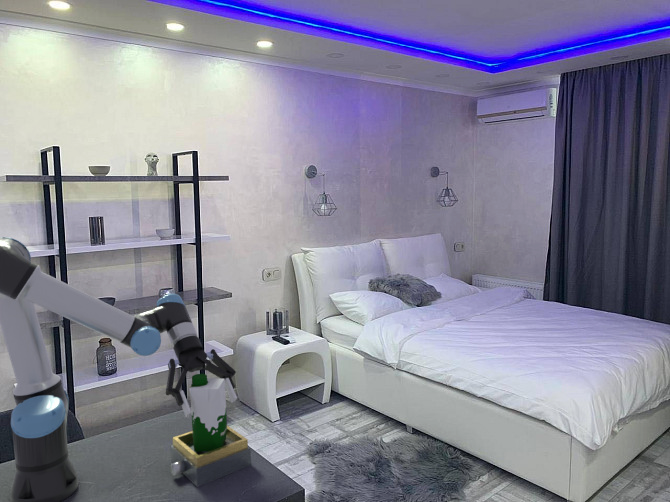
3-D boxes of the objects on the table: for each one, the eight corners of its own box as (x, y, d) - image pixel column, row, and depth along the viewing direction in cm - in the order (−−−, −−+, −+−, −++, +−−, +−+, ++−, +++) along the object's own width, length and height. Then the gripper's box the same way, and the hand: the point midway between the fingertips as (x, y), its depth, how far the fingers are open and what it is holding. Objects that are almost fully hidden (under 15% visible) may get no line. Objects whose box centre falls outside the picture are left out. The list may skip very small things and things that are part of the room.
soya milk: (198, 437, 149) (195, 370, 147) (230, 437, 149) (227, 370, 146) (189, 453, 140) (185, 382, 138) (223, 453, 140) (219, 382, 138)
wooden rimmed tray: (185, 491, 132) (184, 463, 131) (160, 466, 144) (159, 441, 143) (251, 465, 144) (250, 439, 143) (223, 444, 156) (221, 420, 155)
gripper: (220, 340, 161) (247, 401, 151) (139, 358, 145) (164, 427, 135) (228, 326, 156) (256, 388, 147) (145, 343, 140) (171, 414, 131)
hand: (212, 407), depth 141 cm, fingers open, 13 cm apart
